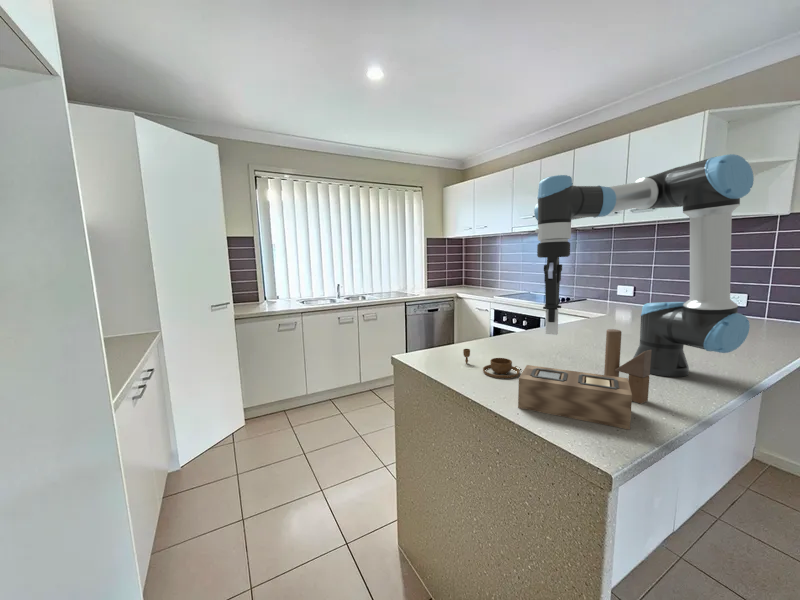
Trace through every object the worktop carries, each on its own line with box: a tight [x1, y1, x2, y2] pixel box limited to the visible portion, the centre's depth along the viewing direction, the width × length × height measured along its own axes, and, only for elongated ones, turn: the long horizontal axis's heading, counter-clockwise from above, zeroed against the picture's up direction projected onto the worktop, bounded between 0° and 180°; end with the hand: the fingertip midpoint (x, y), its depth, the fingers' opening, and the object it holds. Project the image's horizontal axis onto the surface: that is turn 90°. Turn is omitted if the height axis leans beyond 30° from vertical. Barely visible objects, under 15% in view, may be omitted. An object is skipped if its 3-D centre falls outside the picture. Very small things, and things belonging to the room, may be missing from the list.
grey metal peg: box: [538, 371, 560, 379], centre depth 88 cm, size 5×5×7 cm
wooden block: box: [603, 328, 652, 405], centre depth 91 cm, size 4×11×18 cm, turn 29°
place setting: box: [462, 348, 521, 380], centre depth 117 cm, size 18×20×6 cm
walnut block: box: [517, 364, 633, 430], centre depth 85 cm, size 24×12×8 cm, turn 60°
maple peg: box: [586, 377, 610, 387], centre depth 82 cm, size 5×5×7 cm
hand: (551, 333), depth 86 cm, fingers closed
